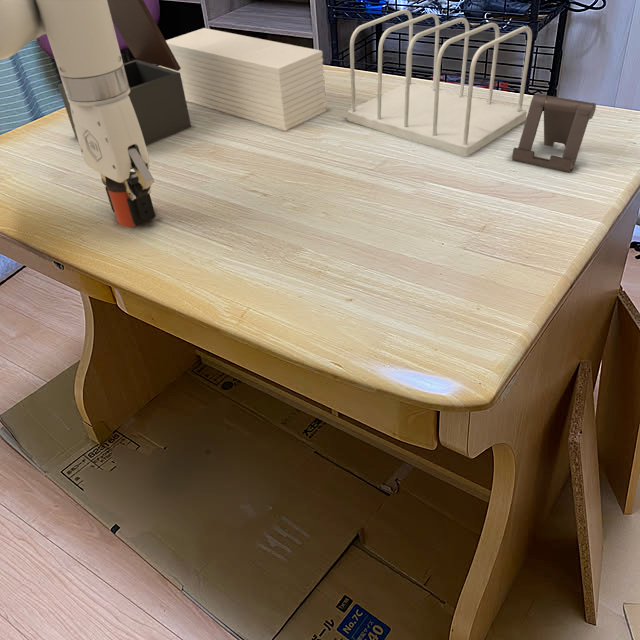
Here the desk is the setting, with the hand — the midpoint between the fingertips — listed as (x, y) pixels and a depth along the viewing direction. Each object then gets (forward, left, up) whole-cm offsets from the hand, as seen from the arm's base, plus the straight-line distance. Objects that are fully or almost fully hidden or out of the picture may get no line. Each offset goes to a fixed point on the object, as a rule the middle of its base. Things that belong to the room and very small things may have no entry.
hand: (133, 213), depth 87 cm
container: (0, 0, -1) cm, 1 cm away
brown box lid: (+9, +34, +17) cm, 39 cm away
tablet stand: (+60, -12, -1) cm, 61 cm away
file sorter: (+53, +9, -1) cm, 53 cm away
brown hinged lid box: (+4, +32, -1) cm, 32 cm away
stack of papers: (+26, +35, -1) cm, 44 cm away
